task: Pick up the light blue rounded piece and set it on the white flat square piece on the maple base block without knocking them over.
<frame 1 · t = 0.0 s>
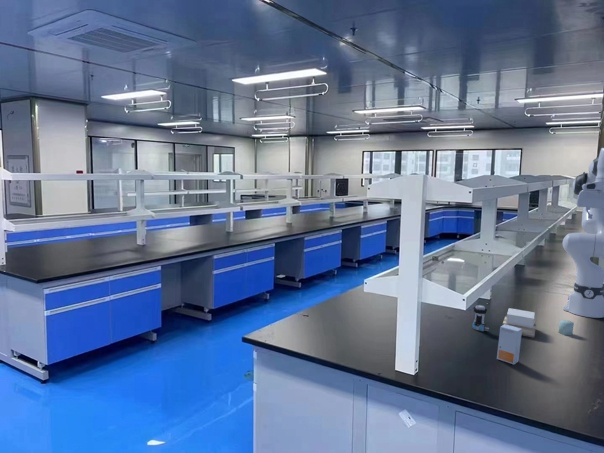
hand: (603, 219, 183), 48 cm above the lab bench, tool pointing down, fingers open, 8 cm apart
maple base block: (518, 331, 186), on the lab bench
white flat square piece: (520, 322, 186), point 3 cm above the lab bench
light blue rounded piece: (565, 333, 185), on the lab bench
push button: (479, 330, 184), on the lab bench
skincare box: (507, 361, 154), on the lab bench
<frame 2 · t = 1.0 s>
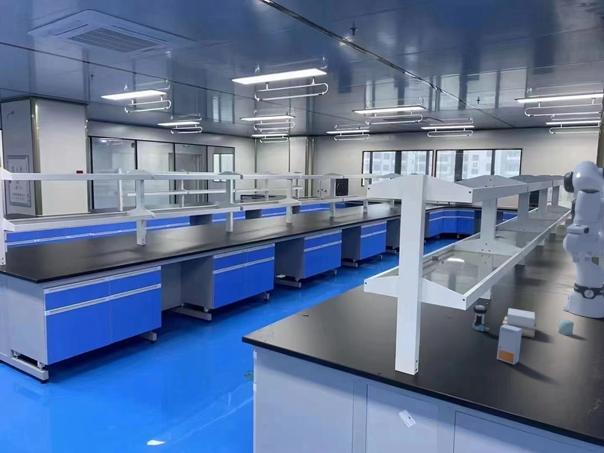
hand: (581, 261, 182), 30 cm above the lab bench, tool pointing down, fingers open, 8 cm apart
maple base block: (518, 331, 186), on the lab bench, touching white flat square piece
white flat square piece: (520, 322, 185), point 3 cm above the lab bench, touching maple base block
everything else where it was.
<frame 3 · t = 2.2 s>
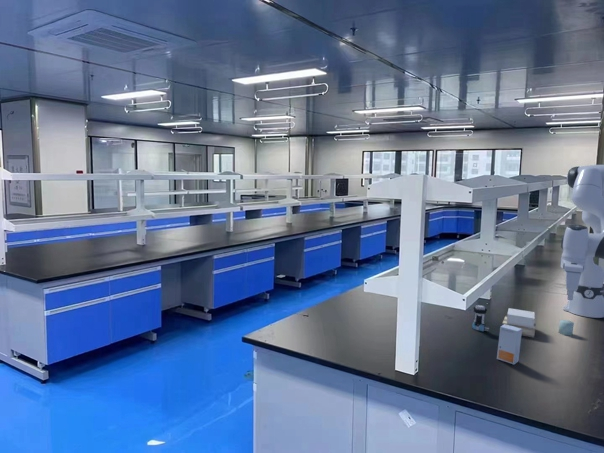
hand: (569, 297, 182), 15 cm above the lab bench, tool pointing down, fingers open, 8 cm apart
maple base block: (518, 331, 186), on the lab bench
white flat square piece: (520, 322, 185), point 3 cm above the lab bench
everything else where it was.
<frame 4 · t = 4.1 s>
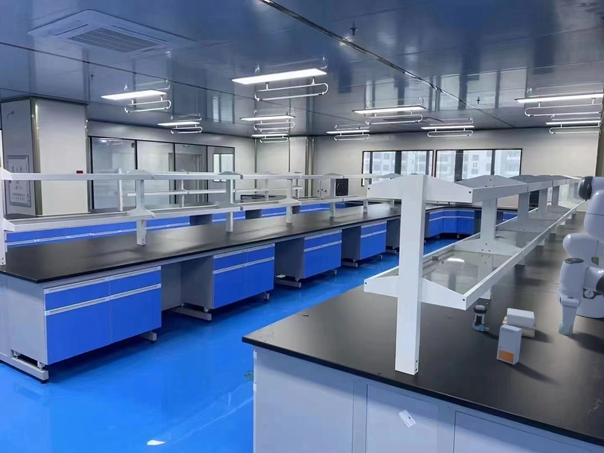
hand: (565, 329, 184), 2 cm above the lab bench, tool pointing down, fingers closed on light blue rounded piece, 5 cm apart
maple base block: (518, 331, 186), on the lab bench, touching white flat square piece
white flat square piece: (519, 322, 186), point 3 cm above the lab bench, touching maple base block
light blue rounded piece: (565, 333, 185), on the lab bench, touching gripper
everything else where it was.
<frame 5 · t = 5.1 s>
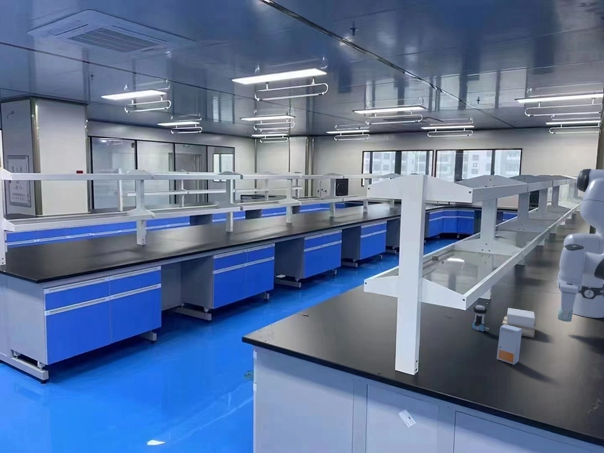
hand: (565, 315, 185), 7 cm above the lab bench, tool pointing down, fingers closed on light blue rounded piece, 5 cm apart
light blue rounded piece: (564, 319, 185), point 6 cm above the lab bench, touching gripper
everything else where it was.
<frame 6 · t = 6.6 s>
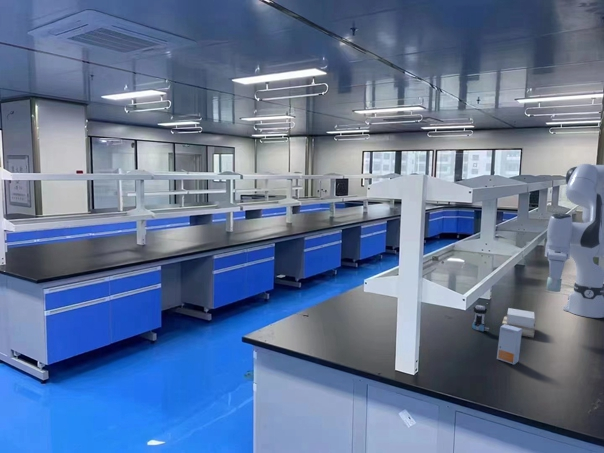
hand: (553, 286, 182), 20 cm above the lab bench, tool pointing down, fingers closed on light blue rounded piece, 5 cm apart
light blue rounded piece: (553, 290, 183), point 18 cm above the lab bench, touching gripper
everything else where it was.
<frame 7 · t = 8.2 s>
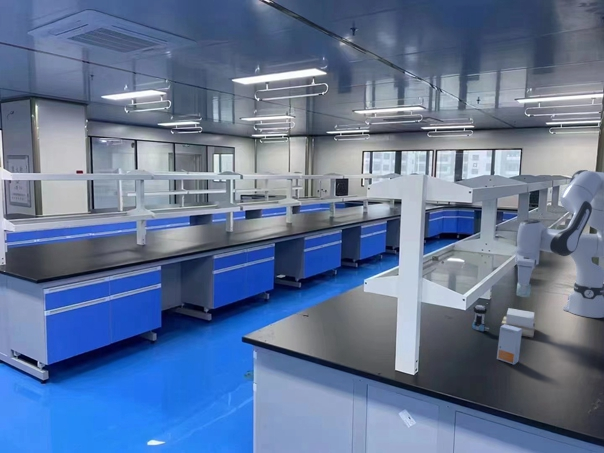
hand: (523, 291, 184), 17 cm above the lab bench, tool pointing down, fingers closed on light blue rounded piece, 5 cm apart
light blue rounded piece: (523, 295, 184), point 15 cm above the lab bench, touching gripper
everything else where it was.
when the fingers open (10 cm above the lab bench, at t = 10.4 s): light blue rounded piece moves 1 cm, resting on white flat square piece.
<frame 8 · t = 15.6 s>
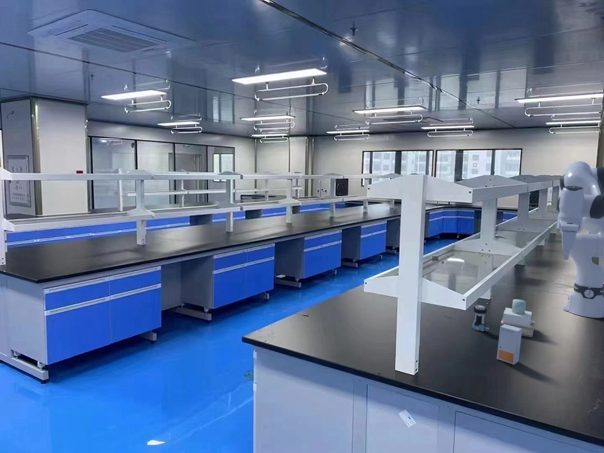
hand: (565, 257, 186), 31 cm above the lab bench, tool pointing down, fingers open, 8 cm apart
white flat square piece: (516, 321, 186), point 3 cm above the lab bench, touching maple base block, light blue rounded piece
light blue rounded piece: (518, 312, 185), point 7 cm above the lab bench, touching white flat square piece
everything else where it was.
at the end: light blue rounded piece inside the target area on the white flat square piece (0.2 cm from its centre), point 4.0 cm above the white flat square piece's base; light blue rounded piece tilted 0°; white flat square piece 0.4 cm off-centre on the maple base block, point 4.0 cm above the maple base block's base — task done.
